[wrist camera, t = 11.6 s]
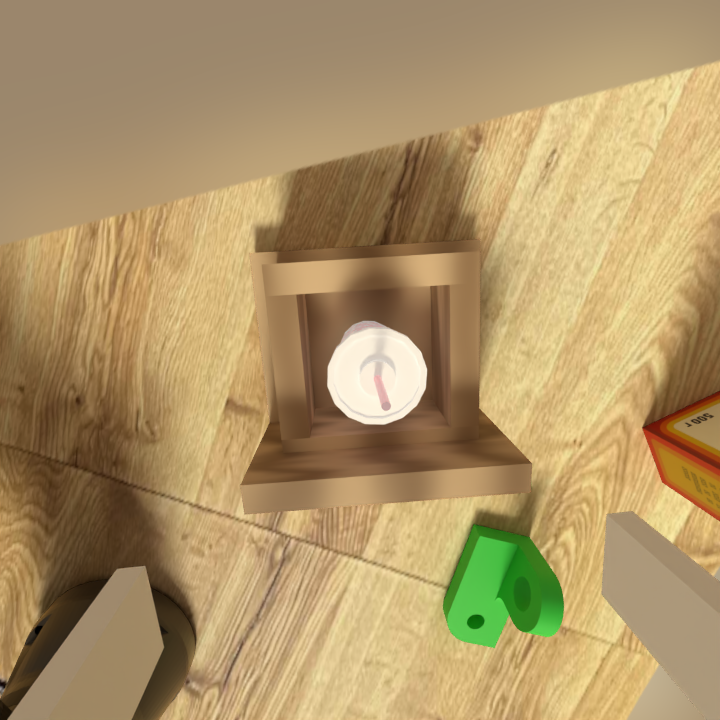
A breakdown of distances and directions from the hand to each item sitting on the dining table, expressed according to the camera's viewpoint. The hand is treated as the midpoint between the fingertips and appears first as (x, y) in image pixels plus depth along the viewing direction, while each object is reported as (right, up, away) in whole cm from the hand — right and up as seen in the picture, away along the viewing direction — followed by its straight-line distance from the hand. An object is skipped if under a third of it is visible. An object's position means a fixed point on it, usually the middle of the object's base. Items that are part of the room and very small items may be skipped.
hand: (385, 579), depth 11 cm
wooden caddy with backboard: (0, +8, +23) cm, 25 cm away
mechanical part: (+12, -16, +30) cm, 36 cm away
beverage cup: (0, +7, +22) cm, 23 cm away
